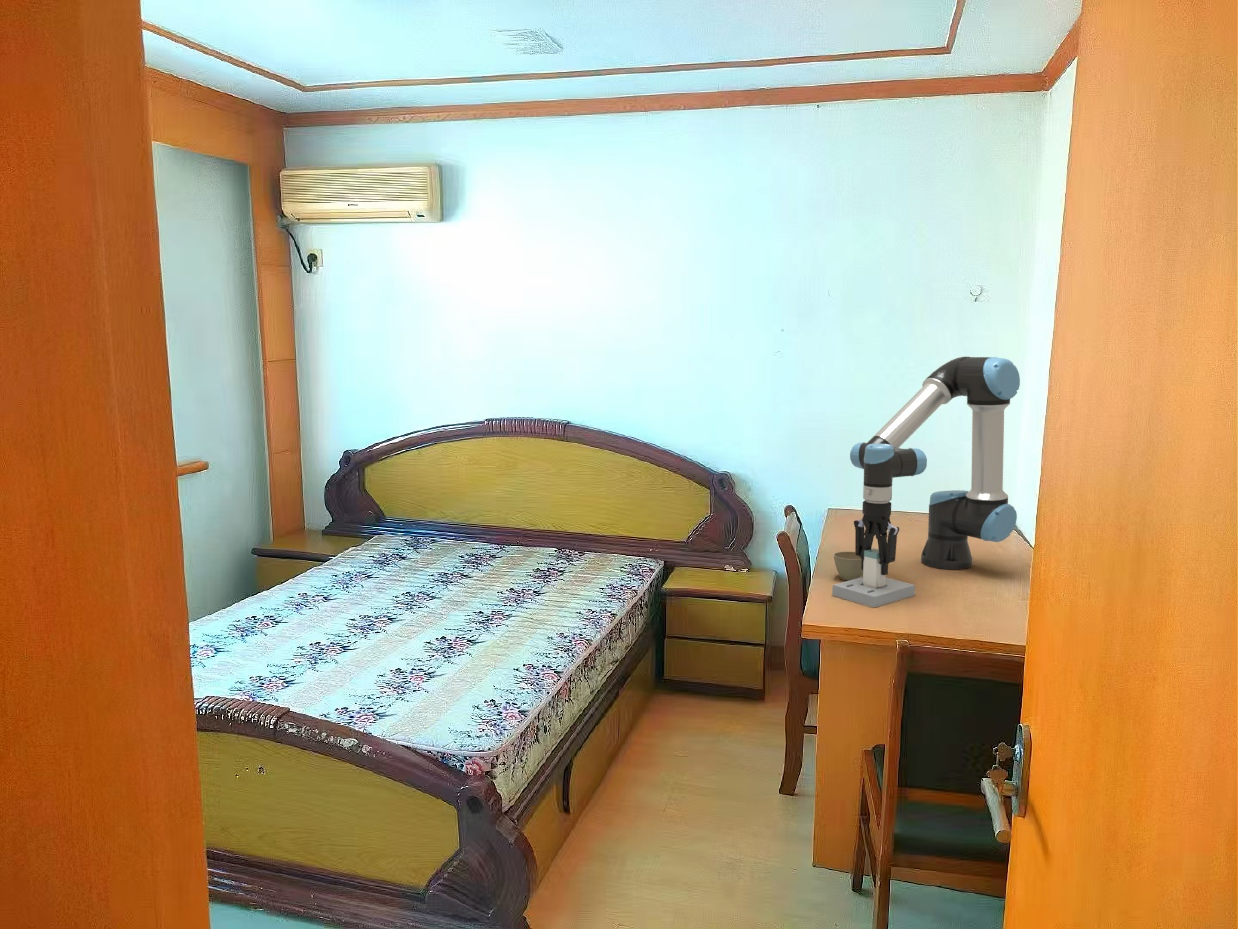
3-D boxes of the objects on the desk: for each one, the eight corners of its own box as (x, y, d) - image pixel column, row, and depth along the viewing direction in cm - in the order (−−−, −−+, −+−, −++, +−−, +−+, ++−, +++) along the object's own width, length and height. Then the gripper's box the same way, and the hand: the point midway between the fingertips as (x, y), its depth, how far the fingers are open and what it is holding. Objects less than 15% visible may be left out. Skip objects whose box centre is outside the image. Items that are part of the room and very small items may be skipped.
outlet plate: (872, 584, 257) (873, 573, 257) (914, 595, 246) (915, 584, 246) (832, 595, 246) (832, 584, 246) (874, 607, 235) (874, 596, 235)
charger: (872, 583, 249) (873, 548, 247) (884, 586, 245) (885, 551, 244) (862, 585, 246) (864, 550, 245) (875, 589, 243) (876, 553, 241)
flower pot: (866, 584, 257) (867, 560, 255) (831, 581, 260) (831, 557, 259) (869, 576, 266) (870, 552, 265) (835, 573, 269) (835, 549, 268)
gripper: (843, 497, 247) (840, 579, 250) (895, 507, 233) (891, 593, 237) (860, 494, 251) (857, 575, 255) (912, 503, 238) (908, 588, 241)
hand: (873, 583), depth 246 cm, fingers closed on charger, 4 cm apart
